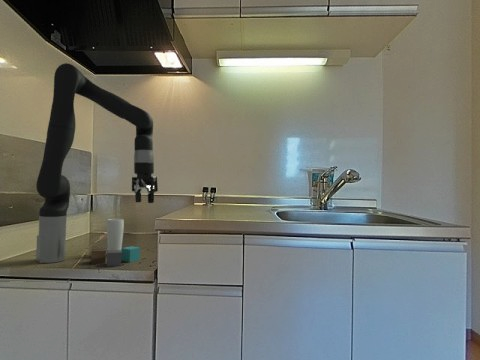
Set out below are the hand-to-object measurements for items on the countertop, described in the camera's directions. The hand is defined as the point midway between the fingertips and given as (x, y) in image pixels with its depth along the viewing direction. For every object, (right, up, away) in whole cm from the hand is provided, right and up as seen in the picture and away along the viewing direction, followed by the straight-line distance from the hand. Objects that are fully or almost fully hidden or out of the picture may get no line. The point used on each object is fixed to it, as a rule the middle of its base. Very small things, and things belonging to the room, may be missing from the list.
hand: (144, 202), depth 134 cm
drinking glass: (-15, -23, +8) cm, 29 cm away
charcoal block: (-9, -23, -8) cm, 26 cm away
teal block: (-5, -23, -1) cm, 24 cm away
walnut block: (-16, -23, -5) cm, 28 cm away
